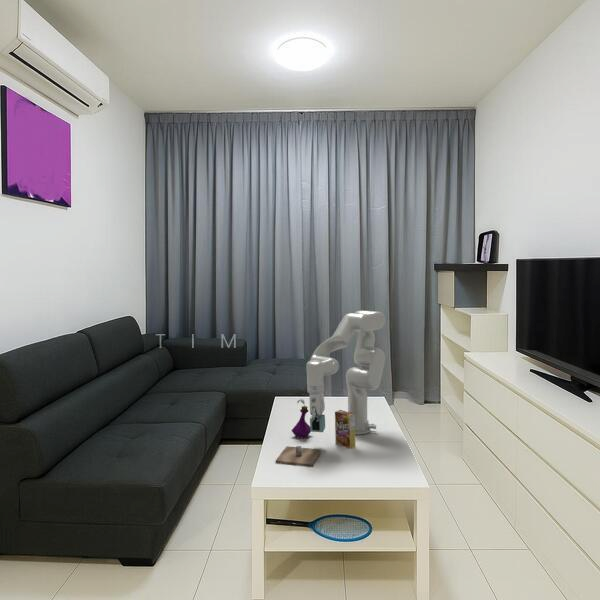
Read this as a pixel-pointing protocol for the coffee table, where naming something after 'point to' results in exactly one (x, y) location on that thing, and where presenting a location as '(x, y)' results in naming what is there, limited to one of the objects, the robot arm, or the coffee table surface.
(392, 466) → the coffee table surface
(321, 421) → the teal cube
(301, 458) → the plate
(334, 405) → the coffee table surface
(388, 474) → the coffee table surface
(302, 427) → the perfume bottle
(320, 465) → the coffee table surface
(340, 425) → the candy box
